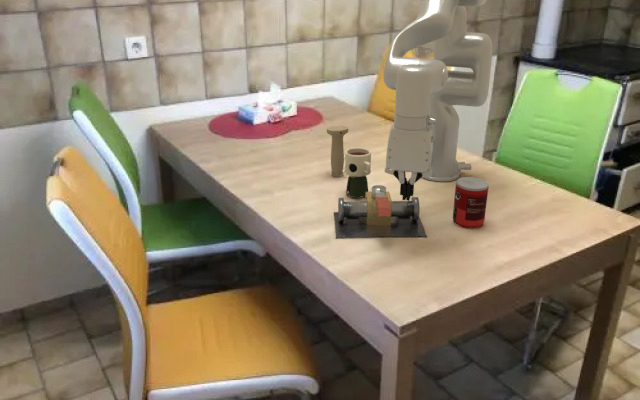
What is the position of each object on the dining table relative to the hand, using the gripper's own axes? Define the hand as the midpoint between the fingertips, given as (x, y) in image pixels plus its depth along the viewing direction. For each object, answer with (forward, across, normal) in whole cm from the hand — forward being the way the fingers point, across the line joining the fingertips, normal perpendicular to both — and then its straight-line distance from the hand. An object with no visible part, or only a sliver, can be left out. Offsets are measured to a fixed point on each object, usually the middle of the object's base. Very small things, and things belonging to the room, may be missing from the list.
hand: (406, 198), depth 137 cm
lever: (+4, +6, -3) cm, 8 cm away
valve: (+11, +7, -6) cm, 15 cm away
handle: (+10, +25, -37) cm, 46 cm away
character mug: (+11, +16, -24) cm, 31 cm away
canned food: (+11, -15, -13) cm, 23 cm away
